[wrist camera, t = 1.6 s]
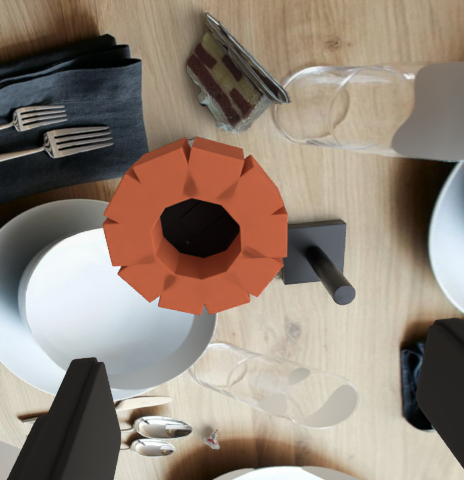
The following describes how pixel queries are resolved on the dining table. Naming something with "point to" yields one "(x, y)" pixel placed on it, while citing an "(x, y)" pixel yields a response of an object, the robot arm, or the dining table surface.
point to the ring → (207, 189)
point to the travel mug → (198, 226)
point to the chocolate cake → (231, 79)
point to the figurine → (211, 440)
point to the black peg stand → (318, 257)
